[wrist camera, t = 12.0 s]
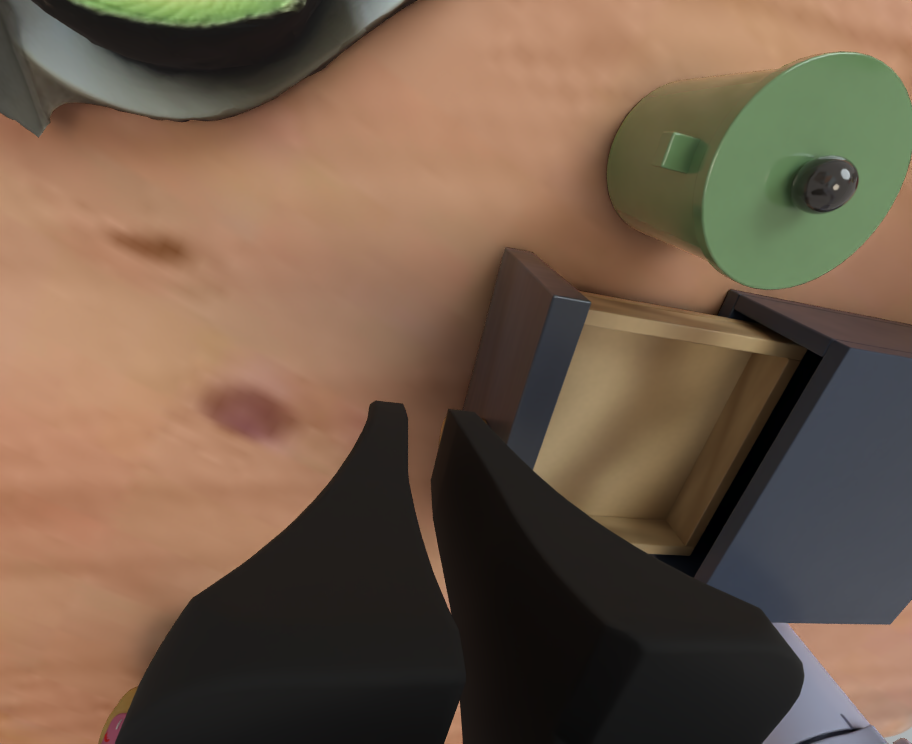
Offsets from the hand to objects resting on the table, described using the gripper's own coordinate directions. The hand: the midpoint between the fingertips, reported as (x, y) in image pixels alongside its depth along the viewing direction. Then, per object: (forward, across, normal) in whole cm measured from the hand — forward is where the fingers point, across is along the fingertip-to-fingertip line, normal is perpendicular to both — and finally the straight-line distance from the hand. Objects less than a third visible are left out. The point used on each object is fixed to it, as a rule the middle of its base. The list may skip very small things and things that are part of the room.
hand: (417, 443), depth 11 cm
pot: (+9, -9, -7) cm, 15 cm away
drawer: (+9, -9, +3) cm, 13 cm away
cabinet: (+9, -19, +4) cm, 22 cm away
